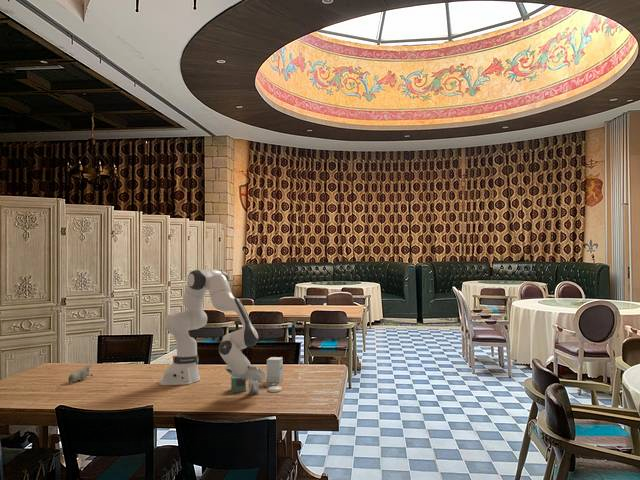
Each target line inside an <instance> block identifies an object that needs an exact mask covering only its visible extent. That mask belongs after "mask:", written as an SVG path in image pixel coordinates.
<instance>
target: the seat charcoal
mask: <svg viewBox="0 0 640 480" xmlns="http://www.w3.org/2000/svg"><path fill="white" fill-rule="evenodd" d="M272 386H278V383H276V382H267V381H266V382H264V383H263V388H267V389H268V388H269V387H272Z"/></svg>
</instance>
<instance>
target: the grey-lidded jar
mask: <svg viewBox="0 0 640 480" xmlns="http://www.w3.org/2000/svg"><path fill="white" fill-rule="evenodd" d="M259 384H260V383H259V382H258V380H254V379H248V395H249V396H256V395H259V394H260V385H259Z"/></svg>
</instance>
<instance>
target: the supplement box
mask: <svg viewBox="0 0 640 480" xmlns="http://www.w3.org/2000/svg"><path fill="white" fill-rule="evenodd" d="M283 362H284V360H283V356H280V357H279V356H278V357H277V356H271V357H269V358H267V359H266V383H267V382H276V383H277V384H280V383H281V382H282V381H283V380H284V367H283V365H284V364H283Z"/></svg>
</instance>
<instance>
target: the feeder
mask: <svg viewBox="0 0 640 480" xmlns="http://www.w3.org/2000/svg"><path fill="white" fill-rule="evenodd" d="M246 382H247V381H244V380H243V379H241V378H240V377H234V376H232V375H230V386H231V387H230V389H231V393H236V392H237V393H238V392H246V390H247V388H246Z"/></svg>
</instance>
